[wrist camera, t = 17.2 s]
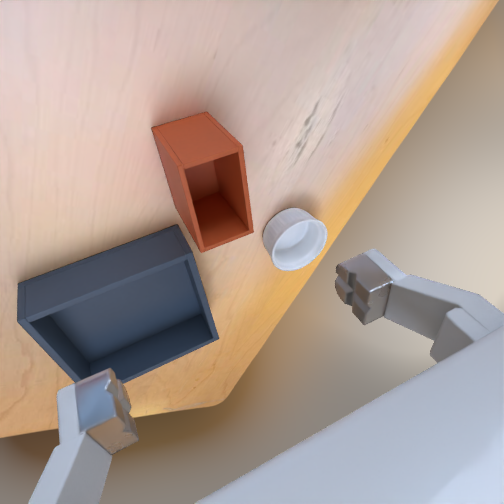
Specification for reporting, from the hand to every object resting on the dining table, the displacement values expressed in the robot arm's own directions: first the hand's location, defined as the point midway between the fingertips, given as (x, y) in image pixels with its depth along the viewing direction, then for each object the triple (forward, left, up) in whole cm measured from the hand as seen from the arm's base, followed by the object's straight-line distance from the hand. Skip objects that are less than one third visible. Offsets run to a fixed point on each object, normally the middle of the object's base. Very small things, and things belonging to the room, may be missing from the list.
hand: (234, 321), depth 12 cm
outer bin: (+7, +26, -29) cm, 40 cm away
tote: (-6, +10, -29) cm, 31 cm away
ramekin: (-17, +25, -29) cm, 42 cm away
